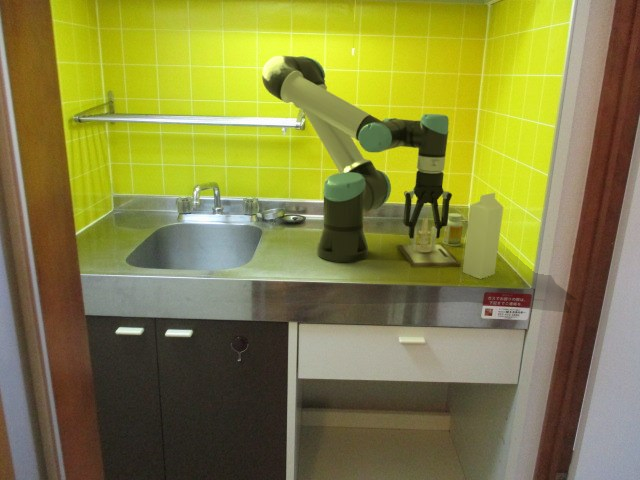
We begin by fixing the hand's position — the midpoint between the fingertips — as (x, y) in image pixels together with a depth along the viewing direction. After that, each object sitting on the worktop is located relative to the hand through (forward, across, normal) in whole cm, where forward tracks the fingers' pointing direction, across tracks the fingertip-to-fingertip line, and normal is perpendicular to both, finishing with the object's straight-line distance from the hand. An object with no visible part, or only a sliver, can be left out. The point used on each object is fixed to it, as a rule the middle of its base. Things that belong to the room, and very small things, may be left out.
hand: (422, 248), depth 147 cm
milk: (+2, +11, -15) cm, 19 cm away
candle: (0, 0, 0) cm, 0 cm away
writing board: (+2, +1, -1) cm, 3 cm away
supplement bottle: (+2, +12, +10) cm, 16 cm away
